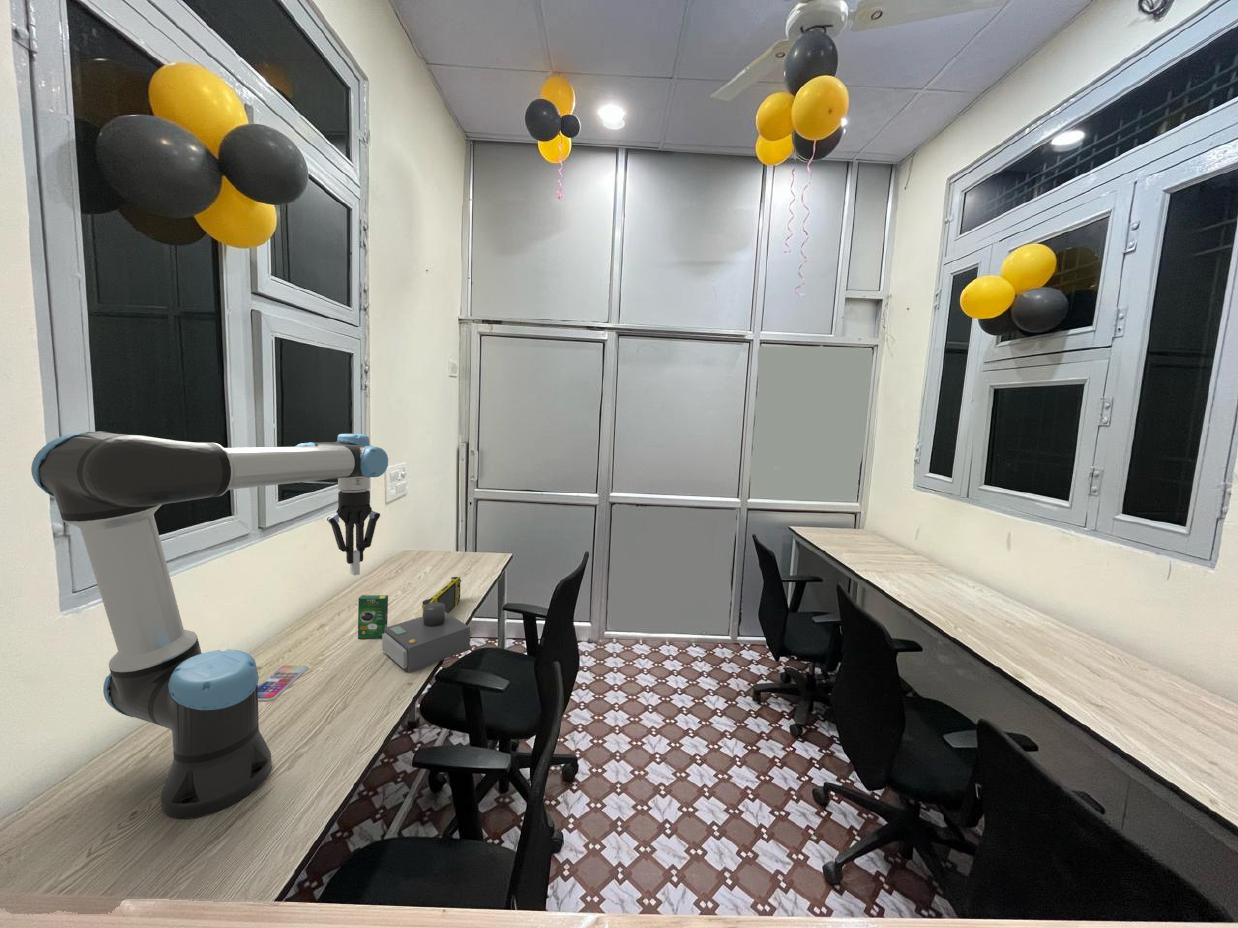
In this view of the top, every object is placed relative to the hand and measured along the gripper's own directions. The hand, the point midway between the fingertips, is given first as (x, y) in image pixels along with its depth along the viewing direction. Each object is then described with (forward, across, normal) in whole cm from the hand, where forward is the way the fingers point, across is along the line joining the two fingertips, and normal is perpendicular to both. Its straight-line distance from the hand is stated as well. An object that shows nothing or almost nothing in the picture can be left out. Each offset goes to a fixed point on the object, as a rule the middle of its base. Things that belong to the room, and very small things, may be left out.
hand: (355, 573), depth 125 cm
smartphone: (+25, -18, 0) cm, 31 cm away
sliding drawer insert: (+23, +15, -10) cm, 29 cm away
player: (+24, +16, -10) cm, 31 cm away
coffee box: (+25, +8, +9) cm, 27 cm away
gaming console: (+25, +31, +9) cm, 41 cm away
